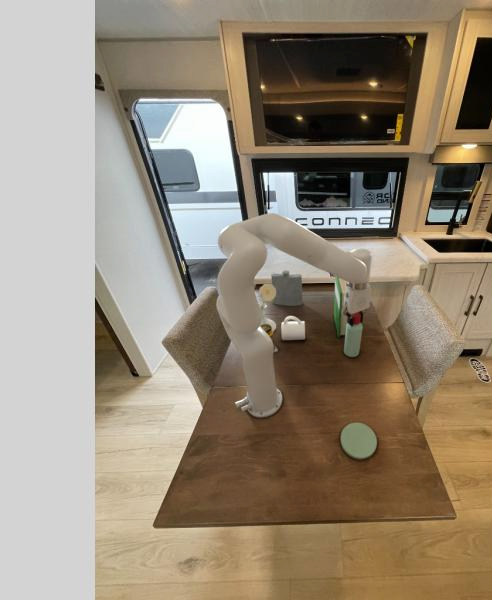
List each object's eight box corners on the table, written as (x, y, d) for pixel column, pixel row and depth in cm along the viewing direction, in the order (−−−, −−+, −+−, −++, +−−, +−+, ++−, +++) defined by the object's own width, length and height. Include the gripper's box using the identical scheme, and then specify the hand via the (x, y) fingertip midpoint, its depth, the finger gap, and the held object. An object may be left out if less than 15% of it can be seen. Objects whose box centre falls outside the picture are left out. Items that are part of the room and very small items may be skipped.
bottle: (349, 359, 110) (354, 322, 100) (340, 349, 115) (344, 313, 105) (362, 353, 113) (367, 317, 103) (352, 344, 118) (357, 309, 108)
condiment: (278, 350, 115) (276, 329, 108) (260, 358, 111) (256, 336, 105) (271, 341, 120) (268, 320, 114) (253, 348, 116) (249, 326, 110)
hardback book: (353, 336, 123) (357, 292, 110) (338, 337, 122) (340, 292, 110) (348, 314, 138) (350, 273, 125) (333, 315, 137) (335, 273, 124)
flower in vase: (253, 339, 121) (245, 292, 108) (251, 325, 130) (243, 280, 117) (281, 334, 124) (277, 288, 111) (278, 320, 133) (273, 276, 120)
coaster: (354, 467, 75) (355, 465, 74) (333, 434, 83) (333, 432, 82) (384, 447, 79) (384, 445, 79) (361, 418, 88) (361, 416, 87)
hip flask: (303, 302, 148) (301, 270, 137) (302, 306, 144) (300, 273, 134) (275, 301, 149) (271, 269, 138) (273, 305, 145) (269, 272, 135)
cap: (362, 321, 106) (363, 314, 104) (356, 326, 103) (357, 318, 102) (353, 317, 108) (354, 310, 106) (348, 321, 106) (348, 314, 104)
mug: (305, 343, 119) (304, 321, 113) (282, 344, 119) (280, 322, 112) (305, 331, 126) (304, 310, 120) (283, 332, 125) (281, 311, 119)
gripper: (345, 293, 90) (343, 334, 100) (382, 281, 97) (377, 321, 107) (333, 284, 96) (332, 324, 106) (369, 273, 103) (365, 312, 113)
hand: (354, 322), depth 106 cm, fingers closed on cap, 4 cm apart
